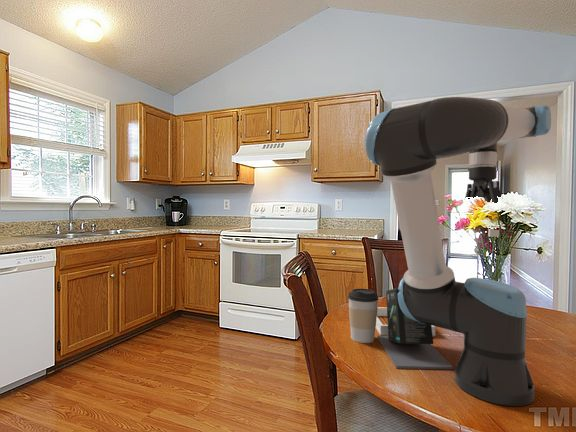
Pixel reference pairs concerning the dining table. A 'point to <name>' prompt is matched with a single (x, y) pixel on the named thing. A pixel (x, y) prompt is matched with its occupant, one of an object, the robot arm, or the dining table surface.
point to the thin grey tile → (414, 355)
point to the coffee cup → (362, 314)
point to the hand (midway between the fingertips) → (481, 234)
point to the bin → (384, 328)
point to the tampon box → (405, 324)
